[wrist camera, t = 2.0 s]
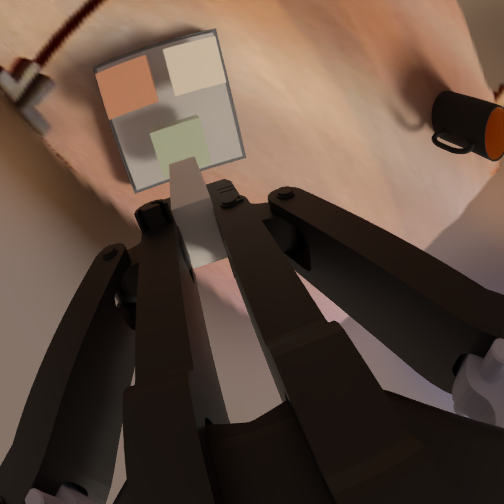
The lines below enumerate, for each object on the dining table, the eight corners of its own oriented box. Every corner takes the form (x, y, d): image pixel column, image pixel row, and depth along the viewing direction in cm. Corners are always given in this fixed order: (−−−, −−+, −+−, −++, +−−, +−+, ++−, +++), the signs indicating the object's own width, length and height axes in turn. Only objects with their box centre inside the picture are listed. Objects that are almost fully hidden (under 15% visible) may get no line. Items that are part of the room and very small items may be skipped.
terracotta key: (101, 74, 20) (95, 74, 18) (147, 57, 20) (145, 54, 18) (114, 116, 22) (109, 120, 20) (159, 100, 23) (158, 101, 21)
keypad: (98, 68, 23) (91, 66, 21) (211, 32, 24) (216, 27, 22) (137, 185, 31) (134, 194, 29) (240, 152, 32) (247, 158, 30)
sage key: (151, 129, 24) (149, 133, 22) (196, 114, 24) (199, 117, 22) (164, 170, 26) (164, 179, 24) (208, 156, 27) (211, 163, 25)
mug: (410, 114, 35) (465, 133, 26) (454, 83, 33) (506, 96, 25) (425, 160, 39) (474, 185, 31) (465, 126, 38) (512, 145, 29)
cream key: (163, 52, 20) (162, 49, 18) (210, 40, 21) (215, 35, 19) (174, 95, 23) (175, 96, 21) (221, 82, 23) (226, 82, 21)
